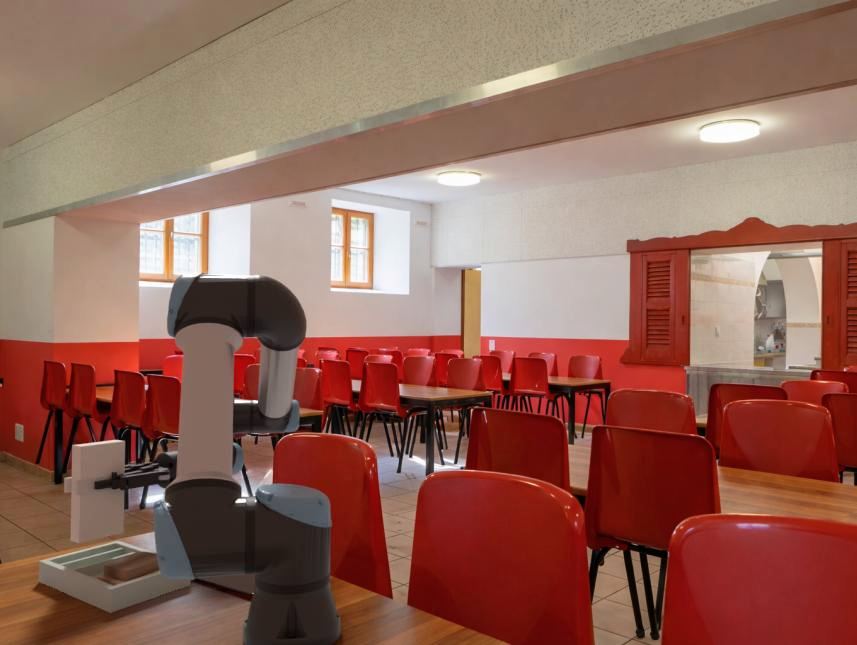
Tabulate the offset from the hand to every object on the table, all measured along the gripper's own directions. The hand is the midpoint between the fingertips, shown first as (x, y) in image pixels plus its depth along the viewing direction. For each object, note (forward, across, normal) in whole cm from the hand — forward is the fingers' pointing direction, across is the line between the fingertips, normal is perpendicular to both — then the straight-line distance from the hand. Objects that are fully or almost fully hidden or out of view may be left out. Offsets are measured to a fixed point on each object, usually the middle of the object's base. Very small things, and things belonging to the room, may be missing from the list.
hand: (70, 486), depth 134 cm
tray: (-5, -6, -18) cm, 20 cm away
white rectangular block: (-5, 0, -10) cm, 12 cm away
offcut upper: (-6, -12, -15) cm, 20 cm away
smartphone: (-21, -21, -19) cm, 35 cm away
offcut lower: (-5, -13, -17) cm, 22 cm away
